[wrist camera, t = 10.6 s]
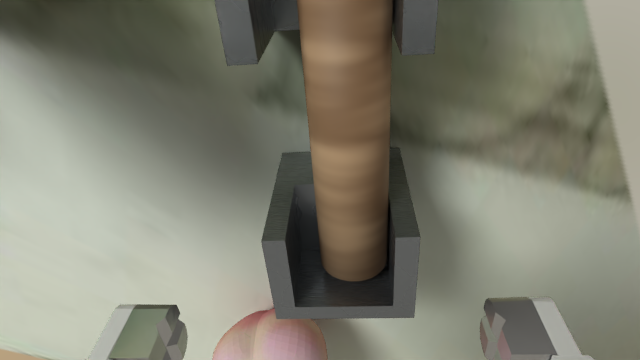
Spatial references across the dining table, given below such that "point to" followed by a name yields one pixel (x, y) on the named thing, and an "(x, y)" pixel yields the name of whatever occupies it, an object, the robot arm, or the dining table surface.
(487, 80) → the dining table surface
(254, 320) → the decorative fruit
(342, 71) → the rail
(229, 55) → the bracket
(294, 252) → the bracket
